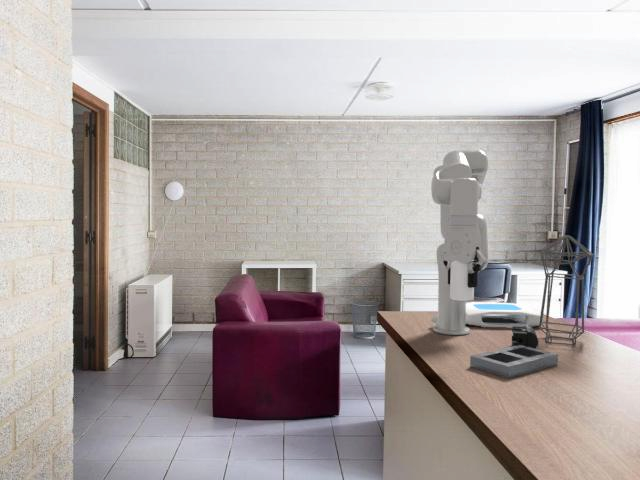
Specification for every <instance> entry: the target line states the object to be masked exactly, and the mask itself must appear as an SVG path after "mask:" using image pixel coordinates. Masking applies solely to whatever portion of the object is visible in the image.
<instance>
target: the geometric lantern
mask: <svg viewBox="0 0 640 480" xmlns="http://www.w3.org/2000/svg"><path fill="white" fill-rule="evenodd" d="M570 241H571V242H572V243H573V244H574V245H575V246H577V247H578V248H579V249H580V250H581V251H574V252H573V248H572V246H571V245H572V244H571V243H570ZM561 242H562V243H561ZM559 243H561V245H560V248H559V250H552V248H554V247H555V246H557V245H558V244H559ZM566 251H567V252H566ZM545 254H547V255H548V256H549V257H551V259H553V260H554V261H556V263H557V265H556V266H555V267H554V268H553V269H552V271H551V272H549V270H548V266H547V264H546V258H545ZM560 256H561V257H560ZM595 256H596V255H595V254H594V253H592V252H591V251H590V250H589V249H588V248H587V247H585V246H584V245H583V244H581V243H580V242H579V241H578V240H577V239H575V238H574V237H572V236H571V235H562V236H561V237H559V238H557V239H556V240H555V241H553V242H551V243H550V244H548V245H546V246H545V247H543V248H541V249H540V259H541V261H542V266H543V269H544V274H545V279H544V287H543V296H542V302H541V307H540V308H541V309H540V313H541V315H540V323H539V326H538V328H539V329H540V330H541V331H542V332H543V334H545V341H546V343H548V344H557V345H558V344H559V345H569V346H570V345H571V346H574V345H576V343H577V338H579V337H580V336H581V335H583V334H584V333H585V277H584V276H585V274H586V272H587V270H588V267H589V266H590V265H591V262H592V260H593V258H594V257H595ZM564 257H567V259H564ZM570 257H571V258H570ZM573 257H575V258H573ZM585 258H587V262H586V264H585V266H584V269H583V272H582V274H581V275H580V273H579V272H578V270H577V269H576V267H575V265H574V264H573V263H576V262H577V261H581V260H583V259H585ZM560 265H569V267H570V268H571V270H572V272H573V273H574V274H570V273H569V274H567V273H555V272H556V270H557V268H559V266H560ZM556 275H557V276H556ZM558 275H559V276H558ZM568 276H573V277H568ZM574 276H575V277H574ZM554 278H555V279H556V278H558V279H559V278H560V279H569V280H576V307H575V320H574V322H575V323H574V324H573V323H572V324H571V323H560V322H552V321H549V315H550V307H551V300H552V291H553V283H554ZM580 283H581V284H580ZM580 286H581V325H579V302H580V301H579V299H580ZM546 296H547V298H546ZM546 299H547V301H546ZM545 303H546V313H545V312H544V311H545ZM544 313H545V314H546V315H545V321H544ZM542 320H543V322H542ZM542 323H543V324H542ZM549 324H550V325H556V326H557V325H559V326H568V327H573V328H572V330H571V331H570V330H563V329H557V328H556V329H554V328H549ZM574 330H576V331H574ZM551 333H553V334H554V333H556V334H567V335H568V334H569V335H568V337H566V336H559V335H558V336H556V335H551ZM553 339H561V340H570V341H572V342H571V343H567V342H555V341H554V342H553V341H552V340H553Z"/></svg>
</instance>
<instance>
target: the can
mask: <svg viewBox="0 0 640 480" xmlns="http://www.w3.org/2000/svg"><path fill="white" fill-rule="evenodd" d="M471 262H473V261H471ZM472 265H473V264H472ZM468 273H470V271H469V268H468V264H467V263H461V262H458V261H452V262H451V274H450V298H451V300H453V301H460V302H466V303H470V302H474V301H473V300H474V299H475V287H472V288H469V287H468Z"/></svg>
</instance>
